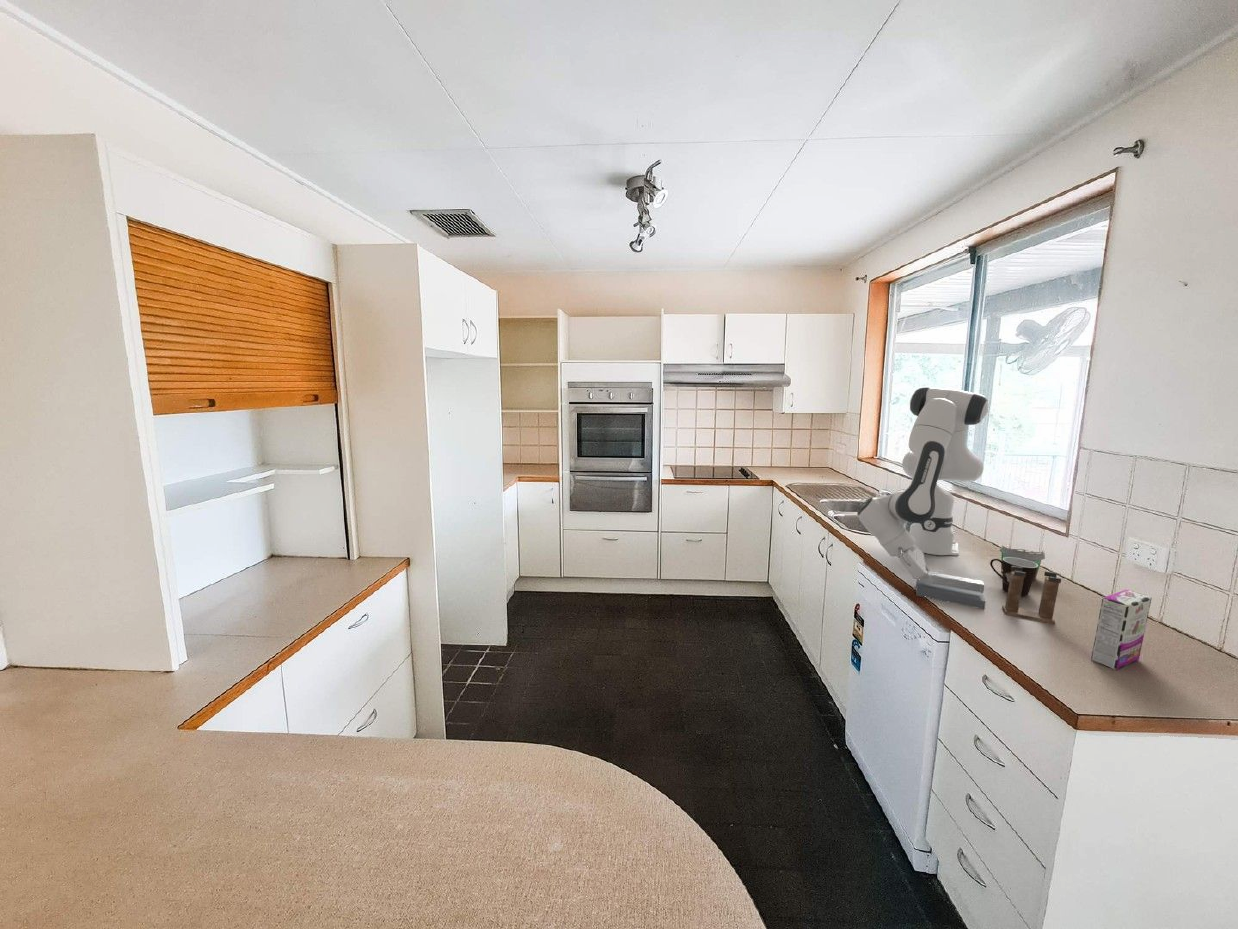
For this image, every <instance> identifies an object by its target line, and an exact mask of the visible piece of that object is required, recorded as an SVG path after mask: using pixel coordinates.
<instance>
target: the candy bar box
mask: <svg viewBox="0 0 1238 929" xmlns="http://www.w3.org/2000/svg"><path fill="white" fill-rule="evenodd" d="M1152 599H1153V598H1152V596H1148V595H1147V594H1142V593H1139V592H1136V591H1133V590H1130V589H1124V590H1121V591H1118V592H1115V593H1112V594H1108V595H1106V596H1103V597H1102V599H1101V604H1100V610H1099V616H1098V619H1097V620H1098V621H1097V626H1096V630H1095V631H1096V632H1095V638H1094V641H1093V642H1094V643H1093V646H1092V647H1093V648H1092V652H1091V658H1090V660H1091V661H1093V662H1095V663H1097V664H1099V665H1101V666H1104V667H1107V668H1109V669H1112V670H1114V671H1117V670H1119V669H1122V668H1124V667H1126V666H1129V665H1131V664H1132V663H1135V662H1137V661H1139V660H1140V656H1141V652H1142V646H1143V642H1144V638H1145V637H1144V636H1145V632H1146V627H1147V623H1148V617H1149V613H1150V607H1151V603H1152Z"/></svg>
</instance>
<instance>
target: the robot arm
mask: <svg viewBox="0 0 1238 929" xmlns="http://www.w3.org/2000/svg"><path fill="white" fill-rule="evenodd" d="M909 410H910V412H911V413H912V414H913V415H914V416H916V418H915V422H914V424H913V426H912V429H911V432H910V434H909V439H908V448H909V450H910V451H908V452H907V453H906V454H905V455H904V457H903V458H902V462H901V467H902V469H903V472H904V473H905V474H906V475H907V476H909V477H910V478H911V481H910V484H909V486H908V487H907V488H906V489H905V490H903V491H897V492H894V493H891V494H889V495H885V496H879V497H878V496H877V497H872V496H871V497H869V498H867V499H866V500H865V501H864V502H863V503H862V504H860V506H859V508H857V514H856V515H857V517H858V519H859V521H860V522H861V524H862V525H863V526H864V527H865V529H866V530H867V531H868V532H869V533H870V534H871V535H872V536H874V537H875V538H876V540H877V541H878V543H879V545H880V546H882V548H883V549H884V550H885V551H886V552H887V554H888V555H889V556H890V557H897V558H898V560H899V562H900V564H901V565H902V566H903V568H904V569H905V570H906V571H907V572H908V574H909V575H910V576H911V577H912V578H913V579H914V580H915V581H917V580H918V579H919V580H920V578H923V579H925V580H926V581H927V582H928V583H929V584H931V583H933V582H934V579H933V578H932V576H931V575H929V574H928V573H927V571H929V572H932V571H931V570H930V568H929V567H928V566H927V564H926V559H925V554H928V555H935V556H959V555H960V554H959V543H958V542H956V541H955V540H954V539H955V533H954V529H953V521H954V518H953V510H954V504H955V498H954V496H953V494H952V493H951V492H949V491H948V490H946V489H944V488H943V487H941V486H940V485H938V481H947V482H956V483H957V482H959V483H966V482H976V481H977V480H978V479H980V477H982V475H983V472H984V463H983V461H982V459H981V458H980V457H979V456H978V455H976V454H974V453H973V452H972V451H971V450H970V449H969V447H968V445H967V433H968V432H967V431H968V428H969V425H970V426H973V425H977V424H981V422H982V420H983V419H984V418H986V416H987V413H988V410H989V401H988V398H987V397H986V396H985V394H984V395H983V394H981V393H978V392H974V393H973V392H970V391H965V390H961V389H957V388H956V389H955V388H943V387H942V388H940V387H931V386H921V387H919V388H917V389H916V390H915V391H914V392H913V394H912V395H911V397H910V400H909ZM906 523H912V524H910V527H909V531H908V530H907V529H906V528H905V526H904V525H905V524H906Z"/></svg>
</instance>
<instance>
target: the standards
mask: <svg viewBox="0 0 1238 929" xmlns="http://www.w3.org/2000/svg"><path fill="white" fill-rule="evenodd" d="M1022 569H1023V568H1022V567H1016V566H1011V570H1013V571H1011V577H1010V582H1009V588H1008V593H1007V595H1006V601H1005V605H1002V608H1001V609H1002V611H1003V614H1004V615H1008V616H1011V617H1012V616H1013V617H1017V618H1022V619H1028V620H1032V621H1037V622H1042V623H1047V624H1051V625H1055V624H1056V620H1055V619H1054V612H1055V607H1056V602H1057V597H1058V596H1057V595H1058V591H1059V585H1060V584H1061V583H1062V578H1061V577H1057V575H1058V573H1057V572H1052V571H1047V570H1045V571H1044V573H1043V574H1044V576H1045V577H1044V582H1043V586H1042V592H1041V598H1040V603H1039V608H1038V611H1033V610H1028V609H1022V608H1020V604H1021V598H1022V597H1021V592H1022V587H1023V581H1024V577H1025V576H1026V573H1025V572H1022Z"/></svg>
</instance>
